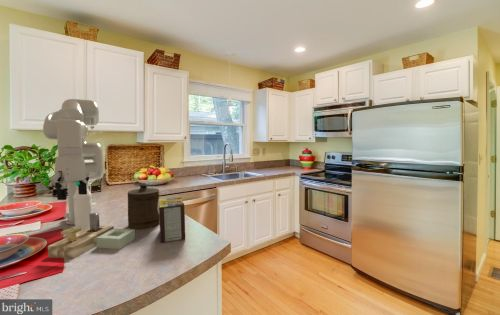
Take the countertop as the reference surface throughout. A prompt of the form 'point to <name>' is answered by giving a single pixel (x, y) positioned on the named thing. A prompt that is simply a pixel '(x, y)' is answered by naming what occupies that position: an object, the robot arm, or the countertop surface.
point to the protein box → (171, 219)
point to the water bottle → (82, 209)
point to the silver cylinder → (94, 222)
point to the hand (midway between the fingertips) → (73, 196)
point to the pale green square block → (115, 238)
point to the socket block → (77, 243)
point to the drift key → (71, 234)
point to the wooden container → (143, 208)
